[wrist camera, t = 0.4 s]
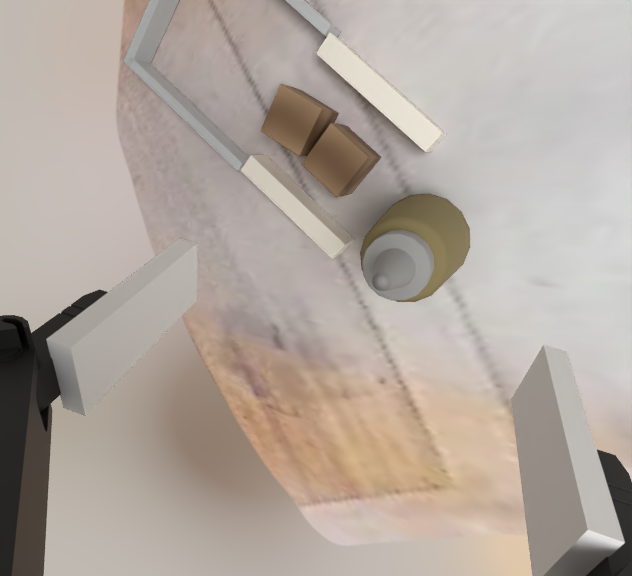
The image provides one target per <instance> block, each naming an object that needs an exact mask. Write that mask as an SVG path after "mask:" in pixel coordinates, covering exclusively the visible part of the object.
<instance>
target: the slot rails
mask: <svg viewBox="0 0 632 576" xmlns="http://www.w3.org/2000/svg"><path fill="white" fill-rule="evenodd" d="M316 54H317V55H318V56H319V57H321V58H322V59H323V60H324V61H325V62H326V63H327V64H328V65H329V66H331V67H332V68H333V69H334V70H335V71H336V72H337V73H338V74H339V75H340V76H342V77H343V78H344V79H345V80H346V81H347V82H348V83H349V84H350V85H352V86H353V87H354V88H355V89H356V90H357V91H358V92H359V93H360V94H362V95H363V96H364V97H365V98H366V99H367V100H368V101H369V102H370V103H372V104H373V105H374V106H375V107H376V108H377V109H378V110H379V111H380V112H382V113H383V114H384V115H385V116H386V117H387V118H388V119H389V120H390V121H392V122H393V123H394V124H395V125H396V126H397V127H398V128H399V129H400V130H402V131H403V132H404V133H405V134H406V135H407V136H408V137H409V138H410V139H412V140H413V141H414V142H415V143H416V144H417V145H418V146H419V147H420V148H421V149H423V150H424V151H425V152H431V151H432V150H433V149H434V148H435V147H436V146H437V145H438V143H439V142H440V141H441V140H442V139H443V138H444V137H445V135H446V133H445V132H444V131H443V130H442V129H440V128H439V127H438V126H437V125H436V124H435V123H434V122H433V121H431V120H430V119H429V118H428V117H427V116H426V115H425V114H424V113H422V112H421V111H420V110H419V109H418V108H417V107H416V106H415V105H413V104H412V103H411V102H410V101H409V100H408V99H407V98H406V97H404V96H403V95H402V94H401V93H400V92H399V91H398V90H397V89H395V88H394V87H393V86H392V85H391V84H390V83H389V82H388V81H386V80H385V79H384V78H383V77H382V76H381V75H380V74H379V73H378V72H376V71H375V70H374V69H373V68H372V67H371V66H370V65H369V64H367V63H366V62H365V61H364V60H363V59H362V58H361V57H360V56H358V55H357V54H356V53H355V52H354V51H353V50H352V49H351V48H349V47H348V46H347V45H346V44H345V43H344V42H343V41H342V40H340V39H339V38H337V37H336V36H335V35H333V34H332V33H329V34H328V36H327V37H326V39H325V40H324V42H323V44H322V45H321V47H320V48H319V50H318V51H317V53H316ZM241 172H242V173H243V174H244V175H245V176H246V177H248V178H249V179H250V180H251V181H252V182H253V183H254V184H255V185H256V186H257V187H258V188H259V189H260V190H261V191H262V192H263V193H264V194H265V195H266V196H267V197H268V198H269V199H270V200H271V201H273V202H274V203H275V204H276V205H277V206H278V207H279V208H280V209H281V210H282V211H283V212H284V213H285V214H286V215H287V216H288V217H289V218H290V219H291V220H292V221H293V222H294V223H295V224H296V225H297V226H299V227H300V228H301V229H302V230H303V231H304V232H305V233H306V234H307V235H308V236H309V237H310V238H311V239H312V240H313V241H314V242H315V243H316V244H317V245H318V246H319V247H320V248H321V249H322V250H323V251H325V252H326V253H327V254H328V255H329V256H330V257H331V258H332V259H334V258H335V257H337V256H339V255H340V254H342V253H343V252H344V251H345V250H346V249H347V247H348V246H349V245H350V244H351V243H352V242H353V241H354V238H353V237H352V236H350V235H349V234H348V233H347V232H346V231H345V230H344V229H343V228H342V227H341V226H340V225H339V224H338V223H337V222H336V221H335V220H334V219H333V218H331V217H330V216H329V215H328V214H327V213H326V212H325V211H324V210H323V209H322V208H321V207H320V206H319V205H318V204H317V203H316V202H315V201H314V200H312V199H311V198H310V197H309V196H308V195H307V194H306V193H305V192H304V191H303V190H302V189H301V188H300V187H299V186H298V185H297V184H296V183H295V182H294V181H292V180H291V179H290V178H289V177H288V176H287V175H286V174H285V173H284V172H283V171H282V170H281V169H280V168H279V167H278V166H277V165H276V164H275V163H273V162H272V161H271V160H270V159H269V158H268V157H267V156H266V155H250V157H249V158H248V160H247V161H246V163H245V165H244V166H243V168H242V169H241Z"/></svg>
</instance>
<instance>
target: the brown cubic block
mask: <svg viewBox="0 0 632 576" xmlns="http://www.w3.org/2000/svg"><path fill="white" fill-rule="evenodd" d="M380 158H381V157H380V156H379V155H378V154H377V153H376V152H375V151H374V150H373V149H372V148H371V147H370V146H368V145H367V144H366V143H365V142H364V141H363V140H362V139H361V138H360V137H359V136H357V135H356V134H355V133H354V132H353V131H352V130H351V129H350V128H349V127H348V126H344V125H339V124H334V123H331V124H330V125H329V126H328V128H327V129H326V131H325V132H324V133H323V135H322V136H321V138H320V139H319V140H318V142H317V143H316V145H315V146H314V147H313V149H312V150H311V151H310V153H309V154H308V156H307V157H306V158H305V160H304V161H303V163H302V165H303V166H304V167H305V168H306V169H307V170H308V171H309V172H310V173H311V174H312V175H313V176H314V177H316V178H317V179H318V180H319V181H320V182H321V183H322V184H323V185H324V186H325V187H326V188H327V189H328V190H329V191H330V192H331V193H332V194H334V195H335V196H336V197H340V196H344V195H348V194H352V193H353V191H354V190H355V189H356V188H357V186H358V185H359V184H360V183H361V182H362V180H363V179H364V178H365V177H366V175H367V174H368V173H369V172H370V171H371V169H372V168H373V167H374V166H375V164H376V163H377V162H378V161H379V160H380Z"/></svg>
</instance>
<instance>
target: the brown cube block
mask: <svg viewBox="0 0 632 576" xmlns="http://www.w3.org/2000/svg"><path fill="white" fill-rule="evenodd" d="M338 114H339V113H338V112H336V111H334V110H333V109H331V108H329V107H328V106H326V105H325V104H323V103H321V102H320V101H318V100H316V99H315V98H313V97H312V96H310V95H308V94H307V93H305V92H303V91H302V90H299V89H296V88H293V87H290V86H287V85H283V84H281V85H280V87H279V89H278V92H277V94H276V96H275V99H274V101H273V103H272V106H271V108H270V110H269V113H268V115H267V117H266V120H265V122H264V124H263V127H262V129H261V132H263V133H265V134H266V135H268V136H269V137H271V138H272V139H274V140H275V141H277V142H278V143H280V144H282V145H283V146H285V147H286V148H288V149H289V150H291V151H292V152H294V153H295V154H297V155H299V156H308V154H309V153H310V151H311V150H312V149H313V147H314V146H315V145H316V143H317V142H318V140H319V139H320V138H321V136H322V135H323V133H324V132H325V131H326V129H327V128H328V126H329V125H330V124H331V123H334V122H335V120H336V118H337V116H338Z"/></svg>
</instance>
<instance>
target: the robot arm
mask: <svg viewBox="0 0 632 576" xmlns="http://www.w3.org/2000/svg"><path fill="white" fill-rule="evenodd" d="M196 301H197V243H195V242H191V241H188V240H185V239H181V238H179V239H178V240H177V241H175V242H174V243H173V244H171V245H170V246H169V247H167V248H166V249H165V250H163V251H162V252H161V253H159V254H158V255H157V256H155V257H154V258H153V259H151V260H150V261H149V262H147V263H146V264H145V265H144V266H142V267H141V268H140V269H139V270H137V271H136V272H134V273H133V274H132V275H131V276H129V277H128V278H126V279H125V280H124V281H122V282H121V283H120V284H118V285H117V286H116V287H114V288H113V289H112V290H110V291H109V292H105V291H102V290H98V291H95V292H92V293H89V294H87V295H84V296H82V297H81V298H80V299H78V300H77V301H76V302H74V303H73V304H72V305H71V307H70V306H69V307H67V308H66V309H64V310H63V311H62V313H61V314H60V313H59V314H57V315H56V316H55V317H53V318H52V319H50V320H49V321H48V322H46V323H45V324H44V325H42V326H41V327H39V328H38V329H37V330H35V331H34V332H32V333H31V331H30V328H29V324H28V321H27V320H25V319H24V318H23V317H19V316H15V315H5V316H4V315H3V316H0V576H43V574H44V555H45V537H46V517H47V499H48V481H49V462H50V444H51V425H52V407H51V403H52V402H53V401H54V400H55V399H56V398H57V397H58V396H59V395H60V396H61V400H62V404H63V407H64V408H66V409H68V410H71V411H73V412H76V413H79V414H81V415H84V416H86V415H87V414H88V413H89V412H90V411H91V410H92V409H93V408H94V407H95V406H96V405H97V404H98V403H99V401H100V400H101V399H102V398H103V397H104V396H105V395H106V394H107V393H108V392H109V391H110V390H111V389H112V388H113V387H114V386H115V385H116V384H117V383H118V382H119V381H120V380H121V379H122V377H124V376H125V374H126V373H127V372H128V371H129V370H130V369H131V368H132V367H133V366H134V365H135V364H136V363H137V362H138V361H139V360H140V359H141V358H142V357H143V356H144V355H145V354H146V353H147V351H149V350H150V349H151V347H153V345H154V344H155V343H156V342H157V341H158V340H159V339H160V338H161V337H162V336H163V335H164V334H165V333H166V332H167V331H168V330H169V329H170V328H171V327H172V326H173V325H174V324H175V323H176V321H178V320H179V319H180V317H181V316H182V315H183V314H184V313H185V312H186V311H187V310H188V309H189V308H190V307H191V306H192V305H193V304H194V303H195V302H196ZM511 400H512V408H513V417H514V425H515V433H516V442H517V450H518V459H519V467H520V475H521V484H522V492H523V500H524V509H525V517H526V525H527V534H528V542H529V550H530V559H531V567H532V575H533V576H632V482H631V479H630V476H629V473H628V472H627V471H626V469H625V468H624V467H623V465H622V464H621V462H620V461H619V460H618V458H617V457H616V456H615V455H612V454H609V453H606V452H603V451H600V450H597V449H596V446H595V443H594V439H593V436H592V433H591V429H590V426H589V423H588V420H587V416H586V413H585V410H584V406H583V403H582V400H581V397H580V393H579V390H578V387H577V383H576V380H575V377H574V374H573V370H572V367H571V364H570V361H569V357H568V354H567V352H566V351H563V350H560V349H556V348H553V347H549V346H546V345H543V347H542V348H541V350H540V352H539V354H538V355H537V357H536V359H535V360H534V362H533V364H532V365H531V367H530V369H529V370H528V372H527V374H526V375H525V377H524V379H523V381H522V382H521V384H520V386H519V387H518V389H517V391H516V392H515V394H514V396H513V397H512V399H511Z"/></svg>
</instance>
